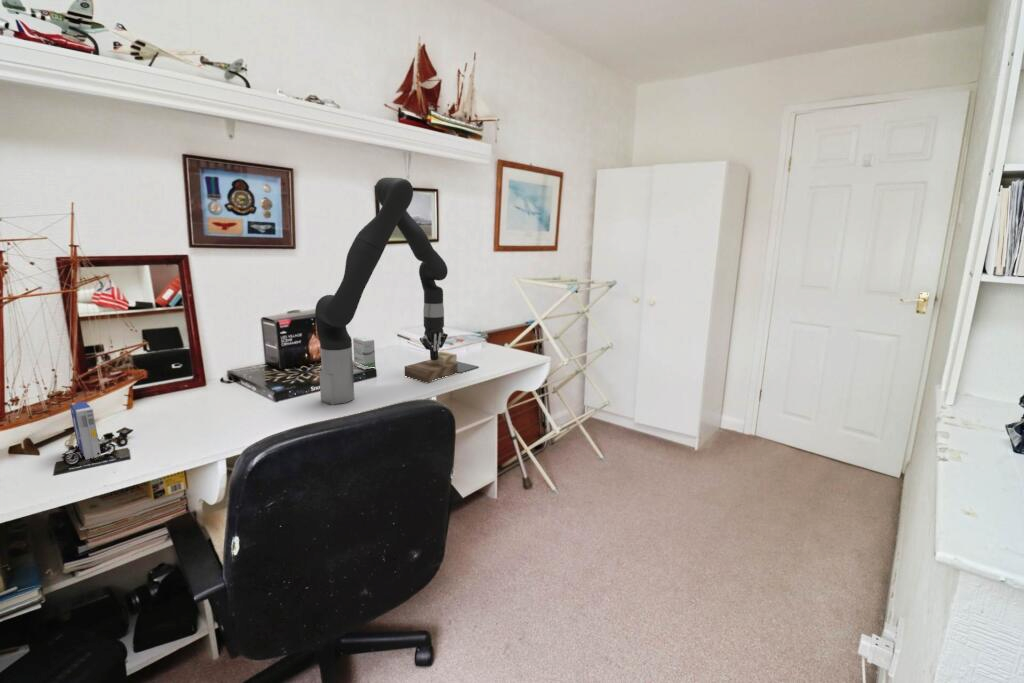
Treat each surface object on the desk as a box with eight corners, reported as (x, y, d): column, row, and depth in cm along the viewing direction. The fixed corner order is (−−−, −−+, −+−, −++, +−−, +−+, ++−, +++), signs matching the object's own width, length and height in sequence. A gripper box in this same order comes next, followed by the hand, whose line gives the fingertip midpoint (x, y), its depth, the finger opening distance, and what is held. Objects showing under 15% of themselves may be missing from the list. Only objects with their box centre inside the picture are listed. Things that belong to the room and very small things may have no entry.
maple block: (443, 365, 180) (443, 357, 179) (430, 361, 184) (430, 354, 183) (456, 361, 185) (456, 354, 184) (443, 358, 189) (443, 351, 188)
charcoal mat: (460, 373, 183) (460, 372, 183) (427, 365, 193) (427, 363, 193) (478, 367, 192) (478, 366, 192) (446, 360, 202) (446, 358, 202)
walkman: (77, 450, 113) (68, 402, 111) (93, 446, 115) (84, 399, 113) (85, 460, 109) (76, 410, 106) (101, 456, 111) (92, 407, 108)
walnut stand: (427, 383, 171) (427, 372, 170) (404, 376, 177) (404, 366, 177) (457, 373, 183) (457, 363, 182) (435, 367, 190) (435, 358, 189)
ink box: (376, 368, 187) (375, 339, 184) (364, 371, 183) (363, 341, 181) (365, 364, 192) (363, 335, 190) (353, 366, 189) (352, 337, 186)
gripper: (427, 318, 169) (428, 365, 173) (453, 313, 179) (453, 358, 183) (413, 315, 173) (414, 361, 177) (439, 311, 184) (439, 355, 187)
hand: (434, 359), depth 180 cm, fingers closed
